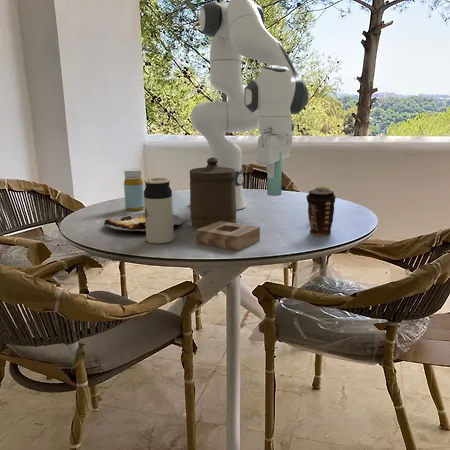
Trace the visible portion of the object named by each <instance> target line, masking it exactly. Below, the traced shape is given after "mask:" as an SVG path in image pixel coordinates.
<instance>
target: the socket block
mask: <svg viewBox="0 0 450 450" xmlns="http://www.w3.org/2000/svg"><path fill="white" fill-rule="evenodd" d="M260 230H261V227H260V226H255V225H250V224H249V225H248V224H241V223H237V222H236V223H230V222H223V221H218V222H216V223H213V224H210V225H208V226H205V227H202V228H200V229H195V241H196V244H199V245H203V246H204V245H205V246H209V247H215V248H221V249H224V250H231V251H235V252H238V251H240V250H243V249H246V248H248V247H249V246H251V245H253V244H255V243H257V242H259V241H260V239H261V238H260V237H261V235H260V232H261V231H260Z"/></svg>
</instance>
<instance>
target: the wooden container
mask: <svg viewBox="0 0 450 450" xmlns="http://www.w3.org/2000/svg"><path fill="white" fill-rule="evenodd" d="M217 162H218V160H217V159H215V158H212V157H209V158H207V160H206V163H207V165H205V166H203V167H196V168H191V169H190V170H189V199H190V200H189V203H190V206H189V207H190V209H189V210H190V226H191V227H192V228H193V229H195V230H197V229H200V228H202V227H205V226H208V225H210V224H213V223H216V222H218V221H223V222H230V223H236V224H237V210H236V194H235V169H232V168H225V167H219V166H218V165H217V164H216V163H217Z"/></svg>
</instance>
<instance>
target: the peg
mask: <svg viewBox="0 0 450 450" xmlns="http://www.w3.org/2000/svg"><path fill="white" fill-rule="evenodd" d="M282 167H283V164H282V152H281V153H280V160H279V161H277V162H275V166H274V172H275V178H273V179H270V178H268V172H267V171H266V172H267V173H266V174H267V180H266V183H267V186H266V187H267V189H266V195H267V196H270V197H276V196H277V197H279V196H281V195H282V172H283V171H282V169H283V168H282Z"/></svg>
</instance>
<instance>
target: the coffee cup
mask: <svg viewBox="0 0 450 450" xmlns="http://www.w3.org/2000/svg"><path fill="white" fill-rule="evenodd" d="M336 198H337V197H336V194H335V192H334V191H333V190H331V189H329V190H325V189H324V190H321V189H319V190H317V189H316V190H315V189H312V190H309V191H308V194H306V201H307V205H308V207H307V214H308V215H307V216H308V221H309V226H310V230H309V234H310V235H311V234H312V236H314V237H325V236H330V235H331V234H332V231H331V230H332V225H333V222H334V216H335V215H334V214H335V202H336Z"/></svg>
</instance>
